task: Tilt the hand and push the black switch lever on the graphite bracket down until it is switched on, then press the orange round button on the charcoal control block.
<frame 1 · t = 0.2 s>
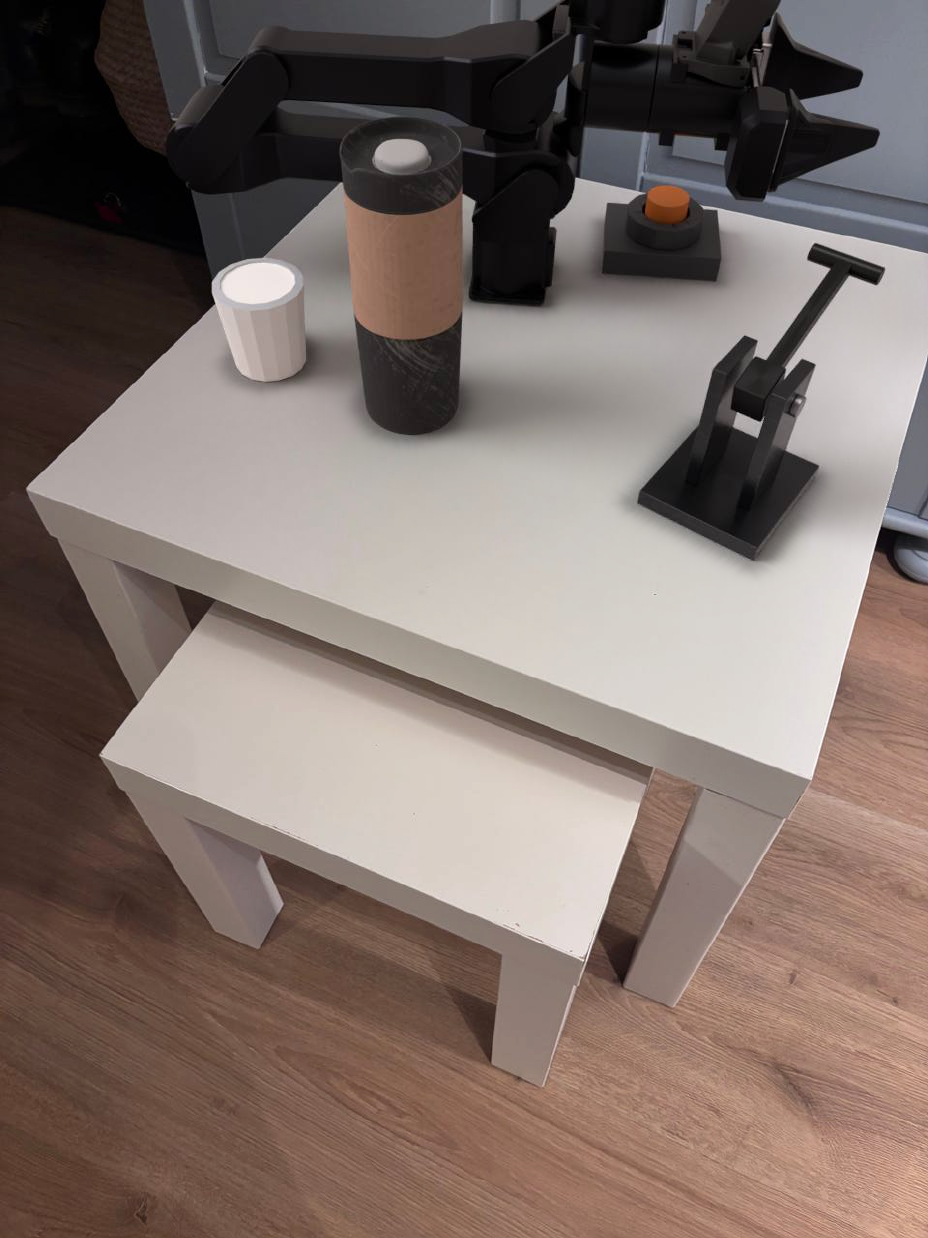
hand: (869, 107, 71), 17 cm above the table, tool horizontal, fingers open, 9 cm apart
switch lever: (799, 329, 64), point 10 cm above the table, hinge at 15.0°
power button: (667, 205, 85), point 4 cm above the table, slide at 0.1 cm
shot glass: (271, 361, 79), on the table
travel mug: (412, 405, 75), on the table
switch bracket: (726, 490, 70), on the table
control block: (658, 252, 88), on the table
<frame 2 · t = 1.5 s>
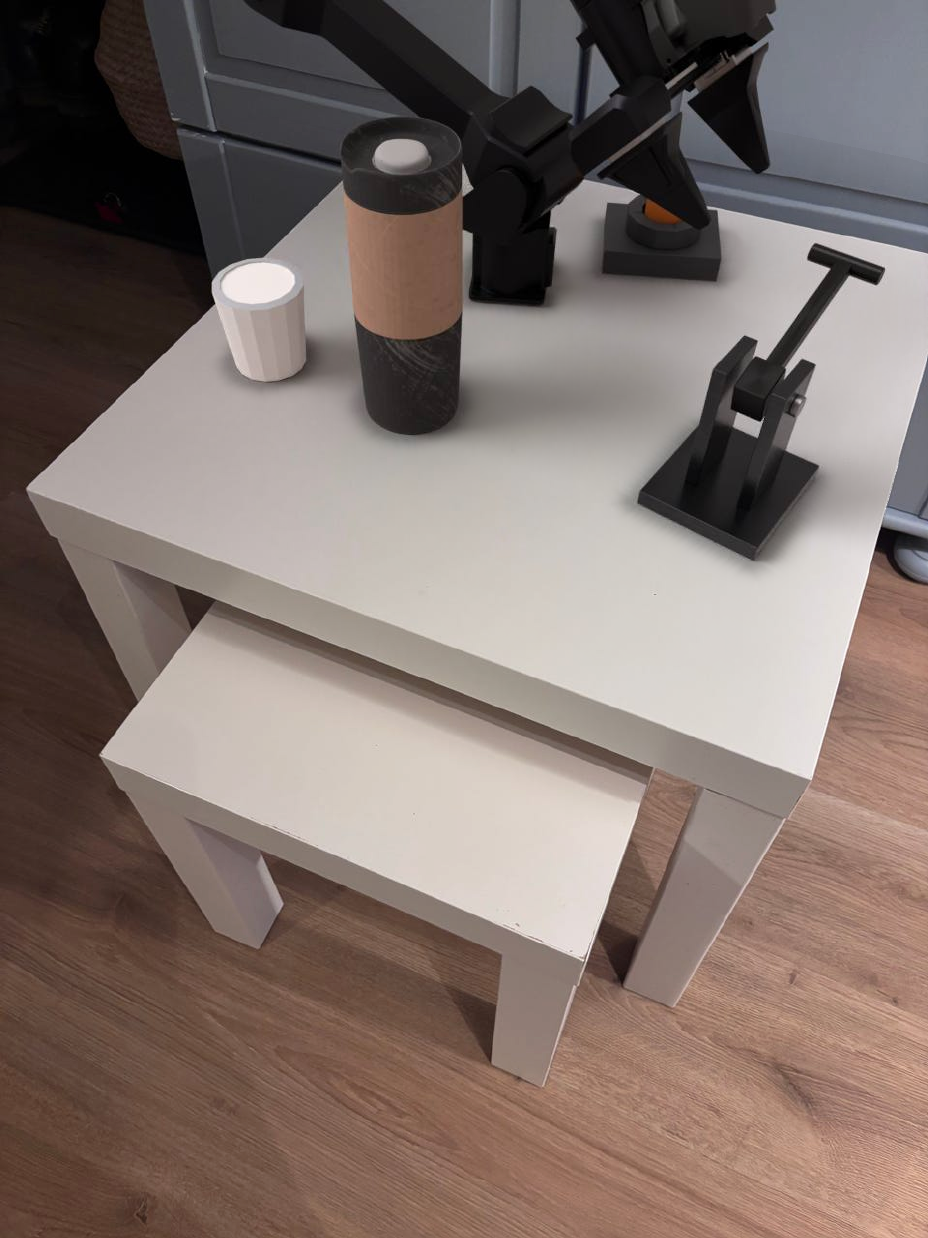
hand: (735, 197, 68), 14 cm above the table, tool tilted 45°, fingers open, 9 cm apart
nothing on the table moved.
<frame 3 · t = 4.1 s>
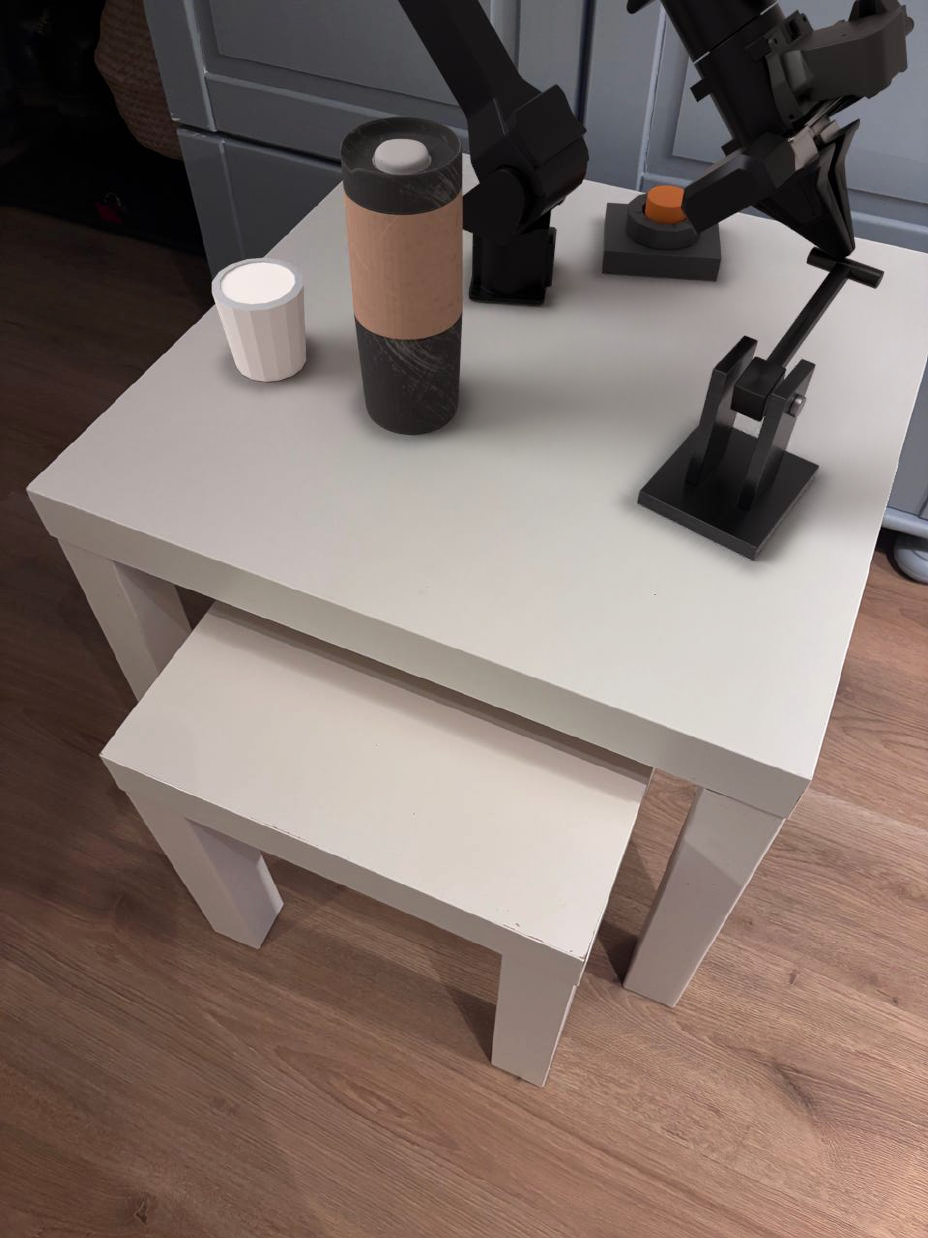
hand: (846, 255, 66), 13 cm above the table, tool tilted 45°, fingers closed
switch lever: (799, 330, 64), point 10 cm above the table, hinge at 13.5°, touching gripper
everything else where it was.
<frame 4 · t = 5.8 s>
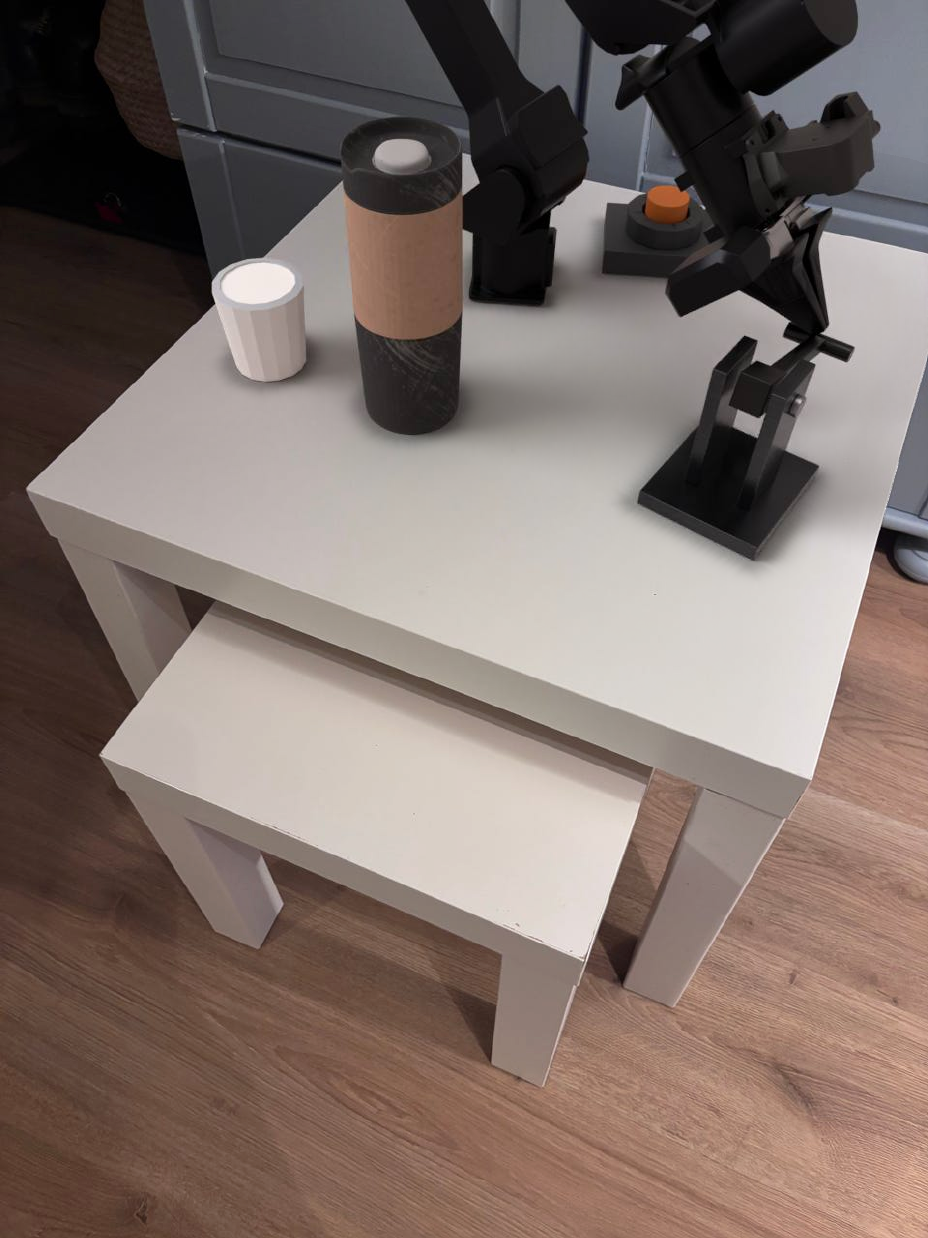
hand: (821, 331, 70), 7 cm above the table, tool tilted 45°, fingers closed, pressing on switch lever
switch lever: (787, 365, 67), point 8 cm above the table, hinge at -15.2°, touching gripper
everything else where it was.
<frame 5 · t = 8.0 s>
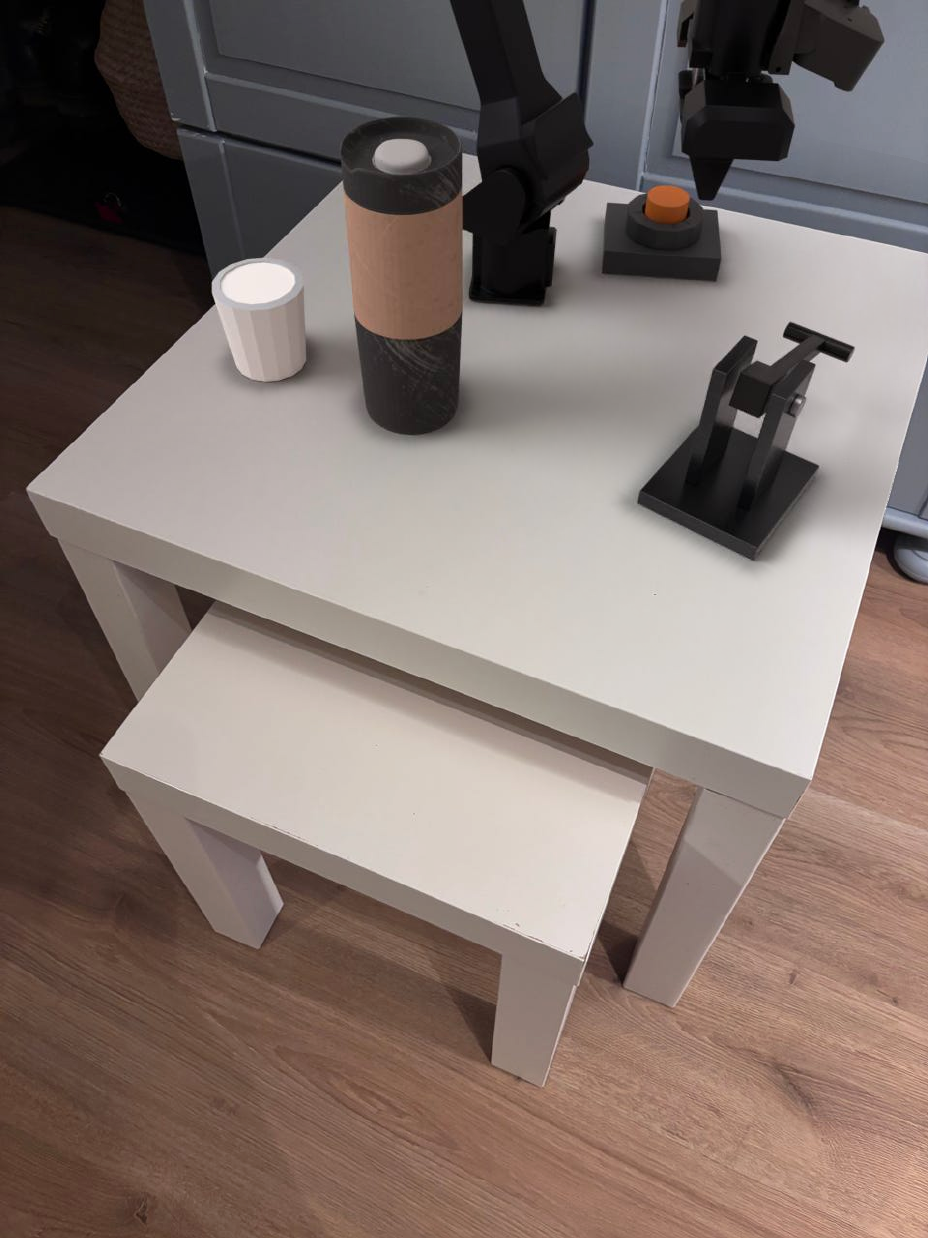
hand: (705, 197, 69), 13 cm above the table, tool pointing down, fingers closed
switch lever: (787, 365, 67), point 8 cm above the table, hinge at -15.3°
everything else where it was.
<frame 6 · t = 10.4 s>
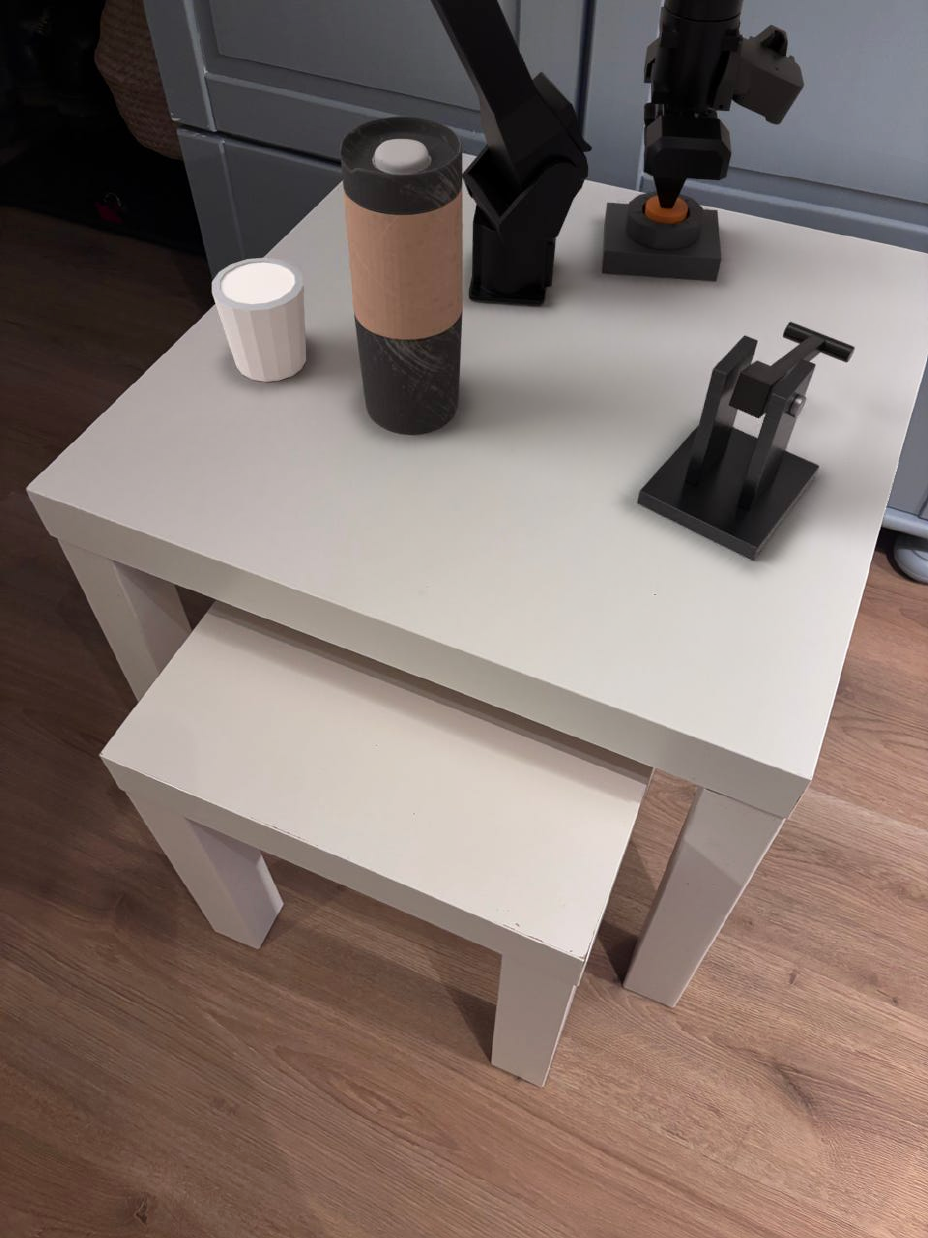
hand: (666, 205, 85), 4 cm above the table, tool pointing down, fingers closed, pressing on power button
power button: (665, 215, 86), point 4 cm above the table, slide at -0.8 cm, touching gripper
everything else where it was.
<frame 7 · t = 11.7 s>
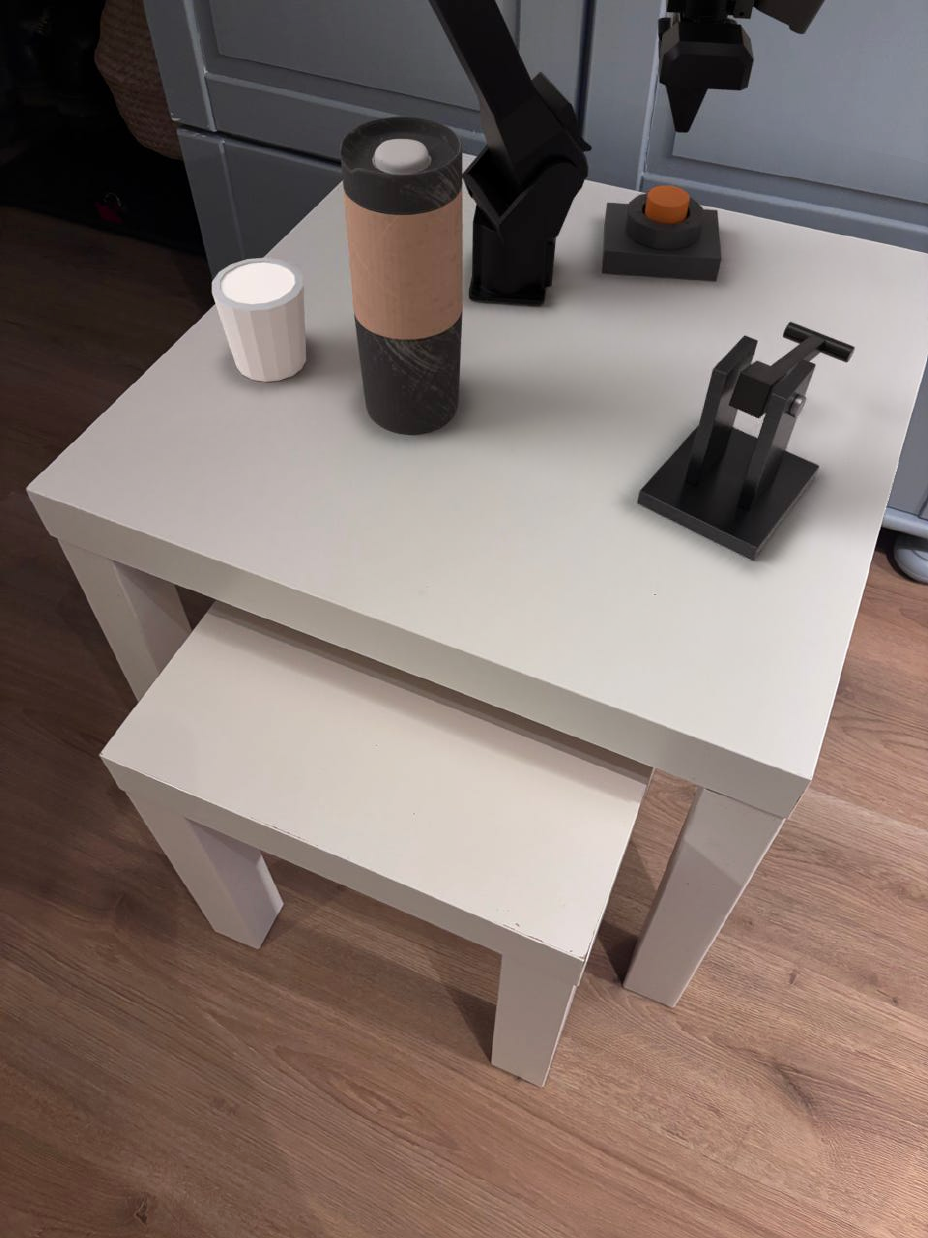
hand: (681, 130, 80), 11 cm above the table, tool pointing down, fingers closed
power button: (667, 205, 85), point 4 cm above the table, slide at 0.1 cm
everything else where it was.
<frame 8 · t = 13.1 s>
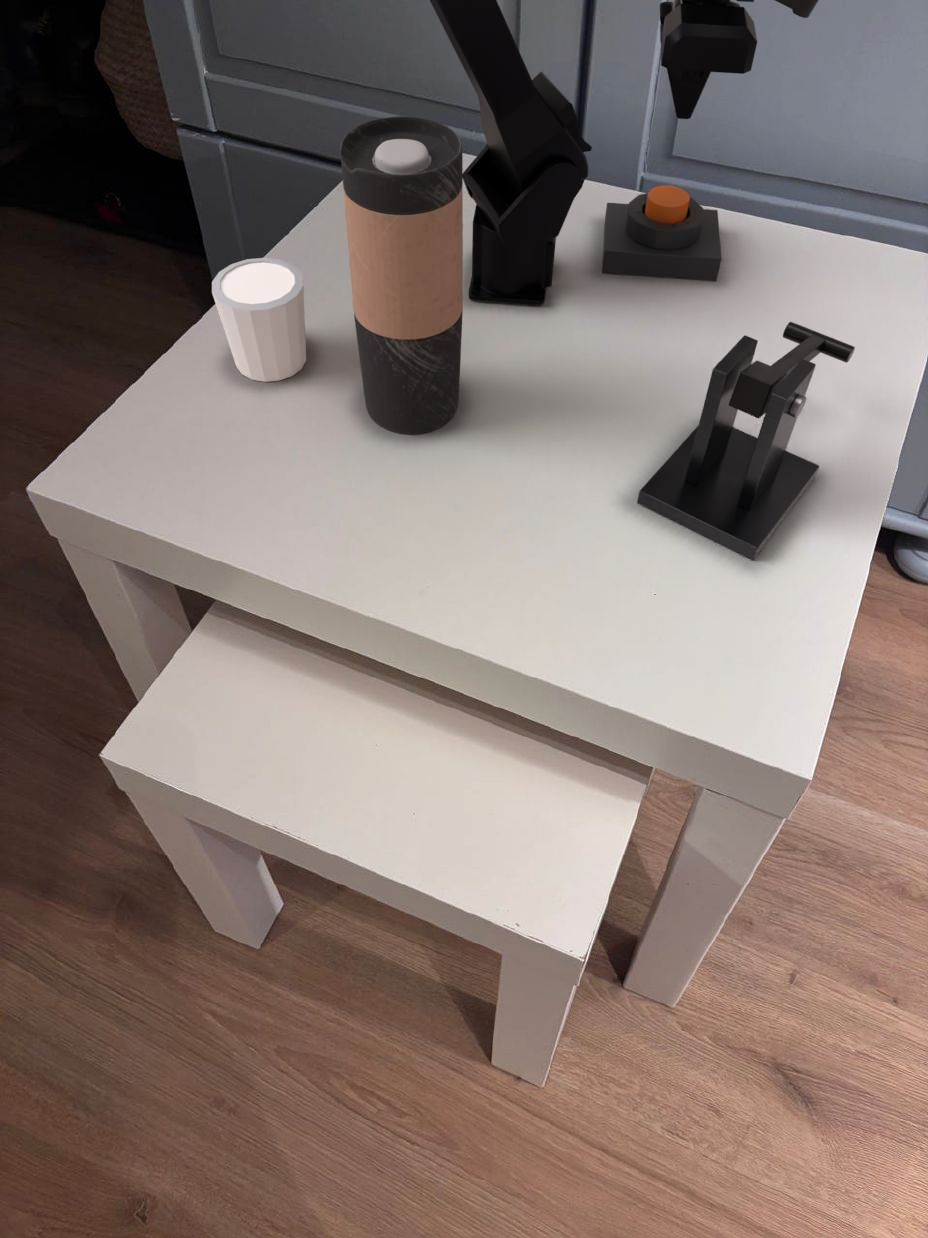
hand: (683, 116, 79), 12 cm above the table, tool pointing down, fingers closed
nothing on the table moved.
at the end: switch lever at -15° (first picture: +15°); power button pushed in 1.1 cm at the most during the clip, back to where it started at the end; power button slide at 0.1 cm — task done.
